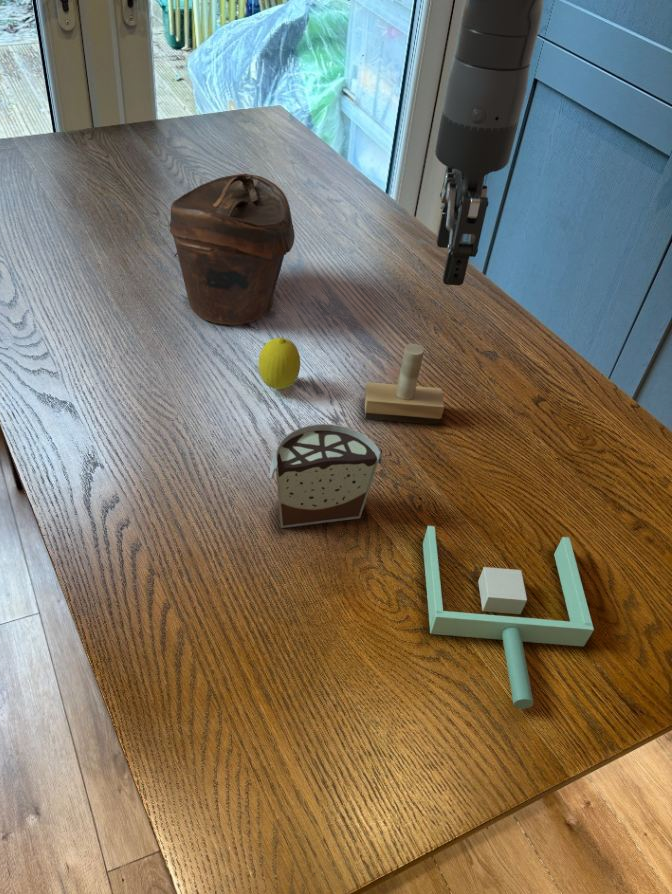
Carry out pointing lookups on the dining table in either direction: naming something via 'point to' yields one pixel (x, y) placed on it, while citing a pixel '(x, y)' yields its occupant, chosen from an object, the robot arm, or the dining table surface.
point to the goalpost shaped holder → (512, 618)
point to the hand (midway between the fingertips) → (448, 264)
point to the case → (232, 246)
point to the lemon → (279, 363)
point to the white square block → (502, 590)
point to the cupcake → (323, 474)
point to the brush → (405, 395)
